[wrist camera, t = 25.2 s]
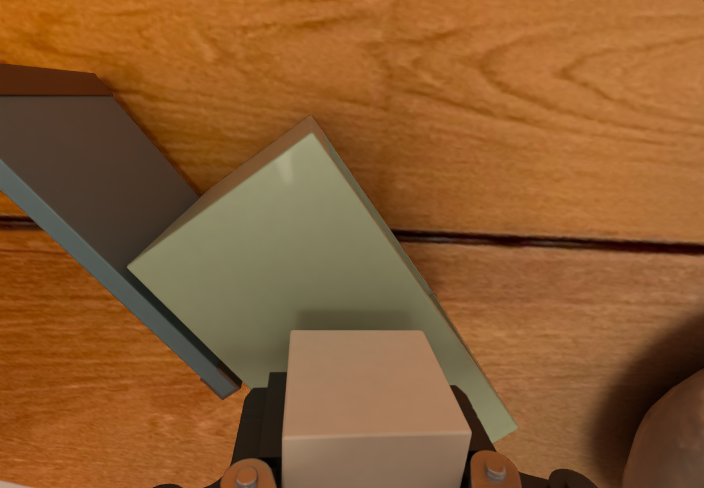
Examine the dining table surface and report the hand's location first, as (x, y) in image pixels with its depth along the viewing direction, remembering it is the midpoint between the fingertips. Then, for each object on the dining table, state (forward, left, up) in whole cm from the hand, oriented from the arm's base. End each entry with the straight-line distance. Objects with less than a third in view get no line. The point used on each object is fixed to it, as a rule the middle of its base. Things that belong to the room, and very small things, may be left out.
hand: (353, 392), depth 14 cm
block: (0, 0, 0) cm, 0 cm away
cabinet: (0, 0, -15) cm, 15 cm away
